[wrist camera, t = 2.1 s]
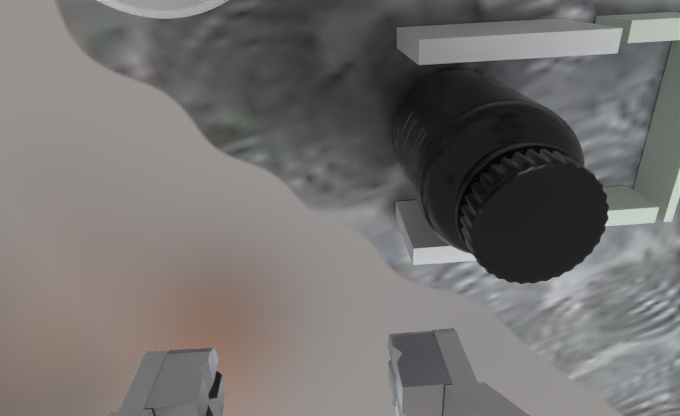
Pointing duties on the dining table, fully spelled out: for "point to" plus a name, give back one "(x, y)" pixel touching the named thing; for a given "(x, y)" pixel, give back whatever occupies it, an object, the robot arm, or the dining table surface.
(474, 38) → the channel
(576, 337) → the dining table surface
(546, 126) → the supplement bottle
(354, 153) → the dining table surface
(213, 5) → the white cup
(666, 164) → the dock
